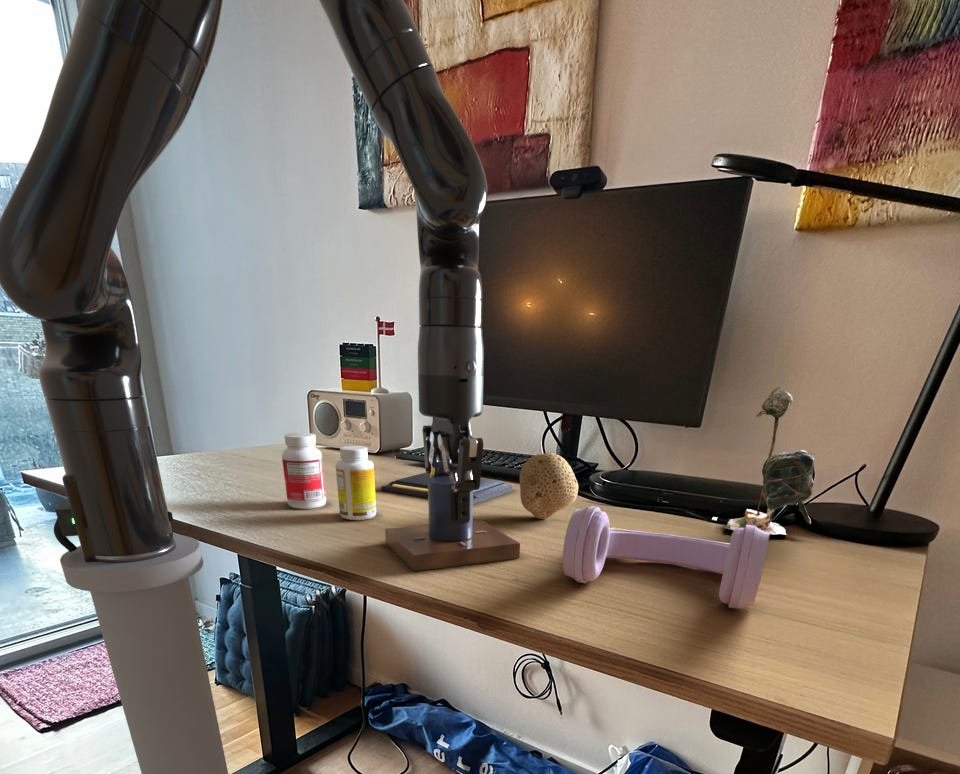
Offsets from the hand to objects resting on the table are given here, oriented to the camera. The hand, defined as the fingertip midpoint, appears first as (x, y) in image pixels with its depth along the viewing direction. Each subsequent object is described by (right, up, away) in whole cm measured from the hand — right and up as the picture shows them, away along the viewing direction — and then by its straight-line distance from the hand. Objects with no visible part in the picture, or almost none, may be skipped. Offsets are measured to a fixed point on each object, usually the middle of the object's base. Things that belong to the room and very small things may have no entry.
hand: (451, 516), depth 76 cm
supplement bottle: (-15, +3, +17) cm, 23 cm away
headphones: (+25, -8, -5) cm, 27 cm away
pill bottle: (-25, +6, +23) cm, 34 cm away
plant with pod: (+46, 0, +13) cm, 48 cm away
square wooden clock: (0, -4, +2) cm, 5 cm away
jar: (0, -2, +1) cm, 2 cm away
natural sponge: (+14, +3, +18) cm, 23 cm away
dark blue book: (-2, +12, +35) cm, 37 cm away
